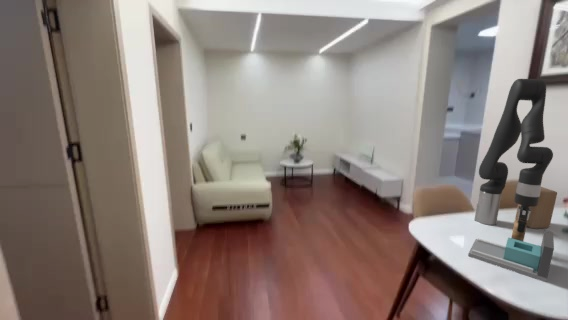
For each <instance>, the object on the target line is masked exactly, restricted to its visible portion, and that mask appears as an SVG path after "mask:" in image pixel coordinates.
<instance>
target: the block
mask: <svg viewBox="0 0 568 320" xmlns="http://www.w3.org/2000/svg"><path fill="white" fill-rule="evenodd" d="M557 195H558V192H557V191H555V190H552V189H549V188H547V187H544V186H541V192H540V197H539V202H538V205H537V206H535V207H532V206H530V207H529V208H531V213H530V214H529V219H528V220H527V227H528V228H530V229H549V228H550V225H551V223H552V222H551V221H552V217H553V213H554V208H555V204H556V199H557ZM519 206H521V205H520V204H517V208H516V213H515V218H514V221H515V220H519V218H518V208H519Z"/></svg>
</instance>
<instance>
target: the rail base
mask: <svg viewBox="0 0 568 320" xmlns="http://www.w3.org/2000/svg"><path fill="white" fill-rule="evenodd" d="M554 235H555V234H554V232H552V231H548V230H544V231H543V236H542V239H541V244H540V246H541V255H540V261H539V265H538V270H537V271H536V270H533V268H530V267H527V266H524V265H521V264H517V263H514V262H511V261H508V260H505V259H503V258H504V253H505V247H506V245H501V244H499V243H496V242H491V241H488V240H484V239H481V238H475V240H474V241H473V244H472V245H471V247H470V250H469V251H468V253H467V256H468V257H471V258H472V259H475V260H479V261H482V262H485V263H487V262H488V263H487V264H490V263H491V265H493V264H494V265H493V266H496V265H497V266H496V267H499V266H500V267H499V268H503V269H505V268H506V270H508V269H509V271H511V270H512V272H514V271H515V273H517V272H518V274H520V275H524V276H527V277H530V278H532V279H536V280H539V281H541V282H545V283H547V281H548V276H549V271H550V266H551V263H552V259H553V254H554V250H555V244H554V243H555V239H554V238H555V237H554Z"/></svg>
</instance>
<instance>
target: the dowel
mask: <svg viewBox="0 0 568 320" xmlns="http://www.w3.org/2000/svg"><path fill="white" fill-rule="evenodd" d="M518 221H519V220H515V219H514V221H513V222H514V223H513V228H512V232H511V233H512V234H511V238H512V239H516V240H520V241H523V242H525V241H524V240H525V236H526V232H527V231H526V230H527V227H528V226H527V224H526V225H525V230H524V233H521V232H518V231H517V228H518ZM520 221H522V220H520ZM524 222H525V221H524ZM526 223H527V222H526Z"/></svg>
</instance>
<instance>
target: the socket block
mask: <svg viewBox="0 0 568 320" xmlns="http://www.w3.org/2000/svg"><path fill="white" fill-rule="evenodd" d="M505 246H506V247H505V253H504V258H503V259H505V260H508V261H511V262H514V263H517V264H521V265H524V266H527V267H530V268H533V270H536V271H537V270H538V265H539V261H540V255H541V245H537V244H534V243H530V242H526V241H520V240H516V239H512V237H508V238H507V240H506V244H505Z"/></svg>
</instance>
